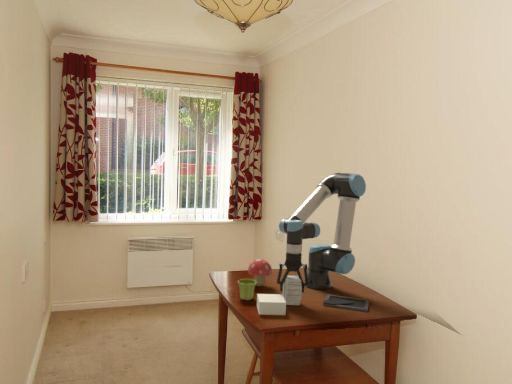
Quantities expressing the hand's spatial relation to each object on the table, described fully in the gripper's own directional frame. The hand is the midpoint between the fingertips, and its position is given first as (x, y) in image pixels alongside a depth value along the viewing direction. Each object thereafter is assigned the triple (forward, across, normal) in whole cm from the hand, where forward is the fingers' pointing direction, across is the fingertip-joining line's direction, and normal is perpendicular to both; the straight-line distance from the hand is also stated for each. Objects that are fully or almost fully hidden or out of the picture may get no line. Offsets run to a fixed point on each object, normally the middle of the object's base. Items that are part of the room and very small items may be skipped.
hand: (291, 298), depth 207 cm
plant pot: (+3, -22, +4) cm, 23 cm away
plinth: (+3, -10, -11) cm, 15 cm away
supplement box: (+2, 0, 0) cm, 2 cm away
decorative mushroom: (+3, -16, +26) cm, 31 cm away
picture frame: (+4, +28, +5) cm, 28 cm away
